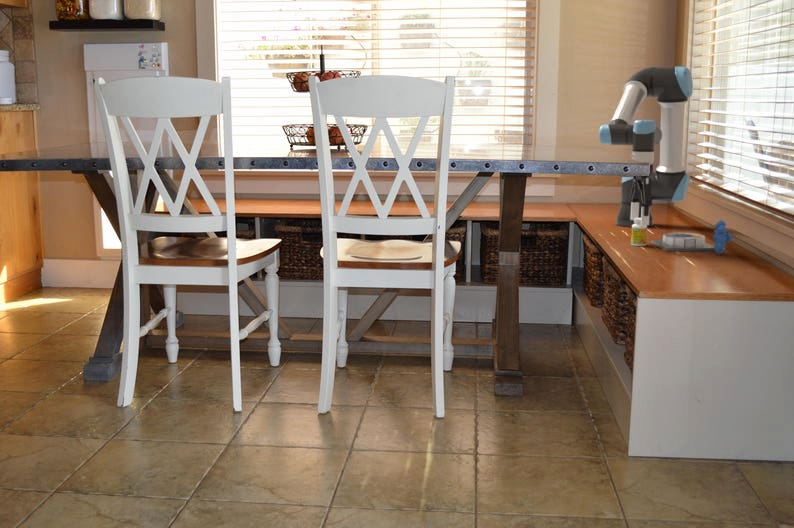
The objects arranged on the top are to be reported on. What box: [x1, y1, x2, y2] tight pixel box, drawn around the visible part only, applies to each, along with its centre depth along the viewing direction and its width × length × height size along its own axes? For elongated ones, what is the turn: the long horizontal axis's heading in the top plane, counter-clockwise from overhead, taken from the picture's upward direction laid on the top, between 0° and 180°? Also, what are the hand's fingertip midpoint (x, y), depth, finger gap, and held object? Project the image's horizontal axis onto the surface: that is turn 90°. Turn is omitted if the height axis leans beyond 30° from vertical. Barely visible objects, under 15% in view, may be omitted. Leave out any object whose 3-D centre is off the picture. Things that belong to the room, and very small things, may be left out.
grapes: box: [712, 219, 734, 255], centre depth 306 cm, size 12×7×12 cm, turn 167°
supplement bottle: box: [630, 218, 648, 247], centre depth 326 cm, size 5×5×10 cm
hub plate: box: [650, 232, 715, 252], centre depth 323 cm, size 18×18×5 cm
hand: (639, 222), depth 325 cm, fingers open, 13 cm apart
